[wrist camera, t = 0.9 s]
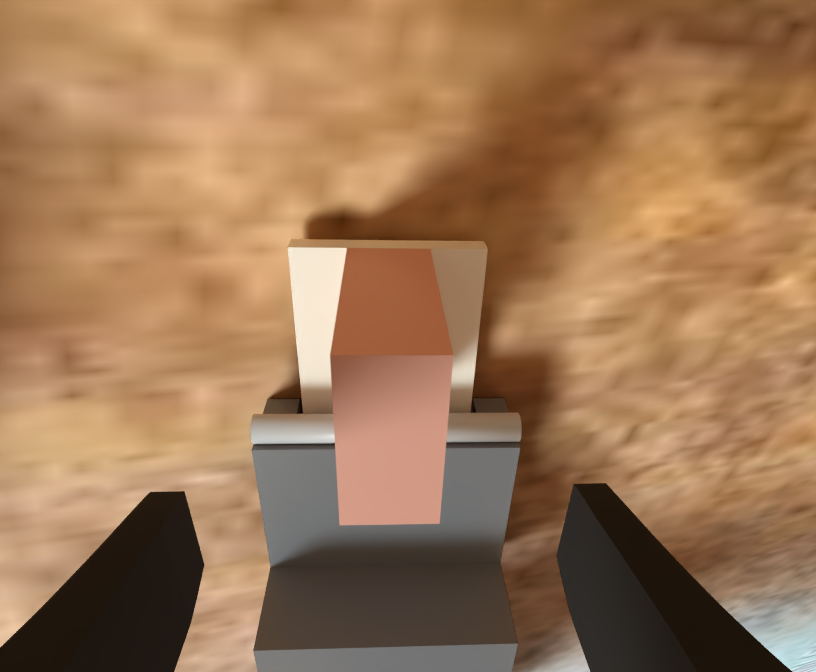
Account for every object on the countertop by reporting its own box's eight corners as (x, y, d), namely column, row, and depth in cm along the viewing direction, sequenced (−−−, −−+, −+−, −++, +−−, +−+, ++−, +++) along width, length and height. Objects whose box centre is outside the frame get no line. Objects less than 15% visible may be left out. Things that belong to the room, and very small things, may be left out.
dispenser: (481, 552, 25) (507, 689, 20) (288, 555, 25) (263, 697, 19) (506, 378, 20) (550, 501, 15) (264, 379, 20) (222, 506, 14)
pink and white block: (451, 562, 25) (472, 727, 19) (319, 564, 24) (300, 733, 18) (484, 241, 17) (538, 355, 11) (291, 239, 16) (241, 355, 11)
